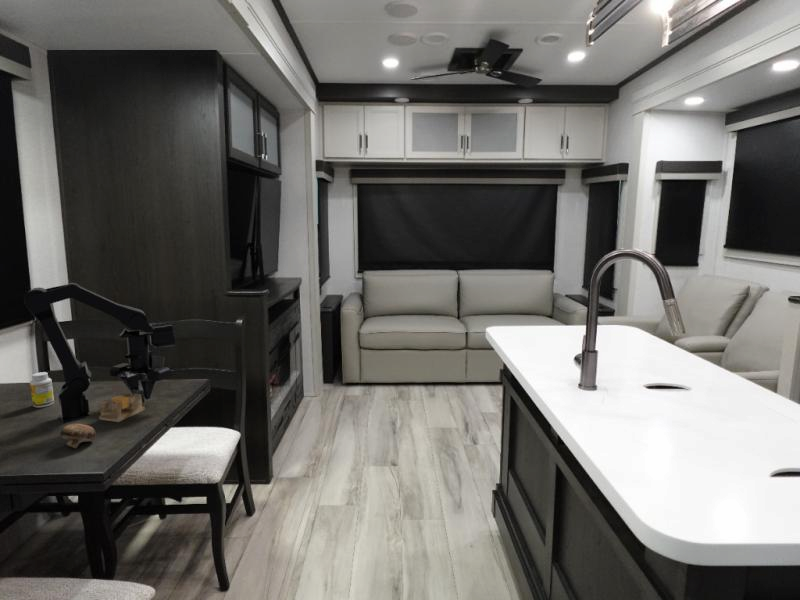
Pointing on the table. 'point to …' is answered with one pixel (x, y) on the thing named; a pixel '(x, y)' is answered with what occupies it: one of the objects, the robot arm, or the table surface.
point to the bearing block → (117, 412)
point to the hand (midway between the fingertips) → (142, 398)
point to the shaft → (139, 391)
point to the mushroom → (77, 434)
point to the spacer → (121, 401)
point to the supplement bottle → (41, 390)
